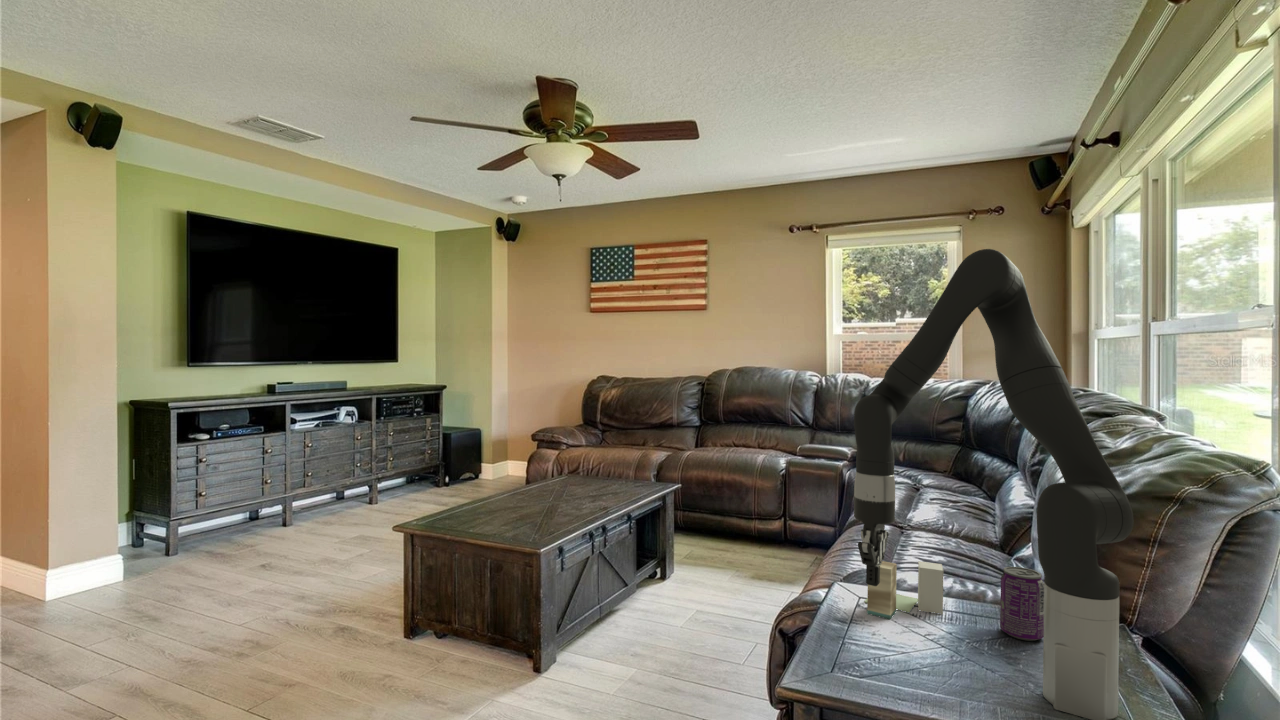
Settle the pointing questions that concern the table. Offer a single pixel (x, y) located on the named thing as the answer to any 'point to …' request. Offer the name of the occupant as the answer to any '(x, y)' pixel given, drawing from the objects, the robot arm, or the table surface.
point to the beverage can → (1022, 603)
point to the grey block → (930, 587)
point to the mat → (904, 602)
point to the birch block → (883, 592)
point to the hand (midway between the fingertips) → (872, 584)
